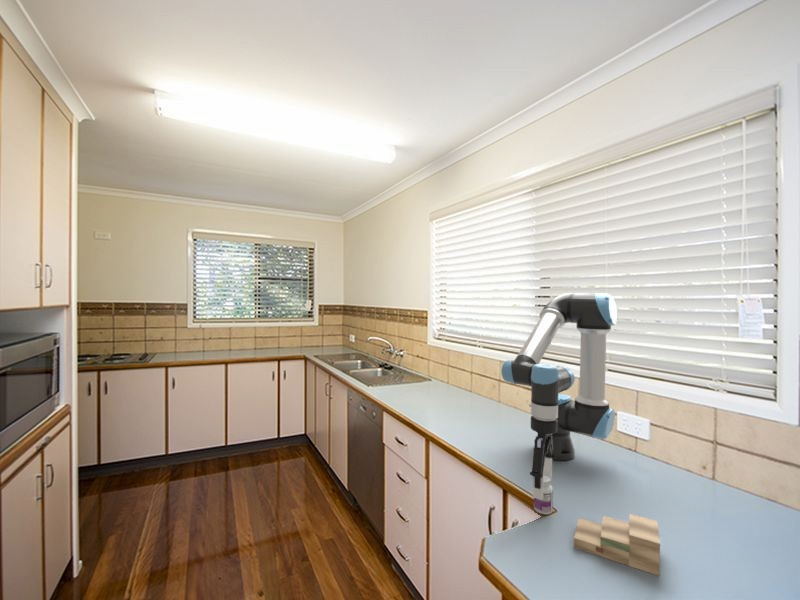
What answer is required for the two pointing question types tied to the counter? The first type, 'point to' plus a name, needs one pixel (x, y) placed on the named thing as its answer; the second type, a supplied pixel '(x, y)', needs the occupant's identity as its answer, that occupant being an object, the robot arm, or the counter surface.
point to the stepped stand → (622, 541)
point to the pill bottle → (545, 498)
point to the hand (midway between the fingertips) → (542, 487)
